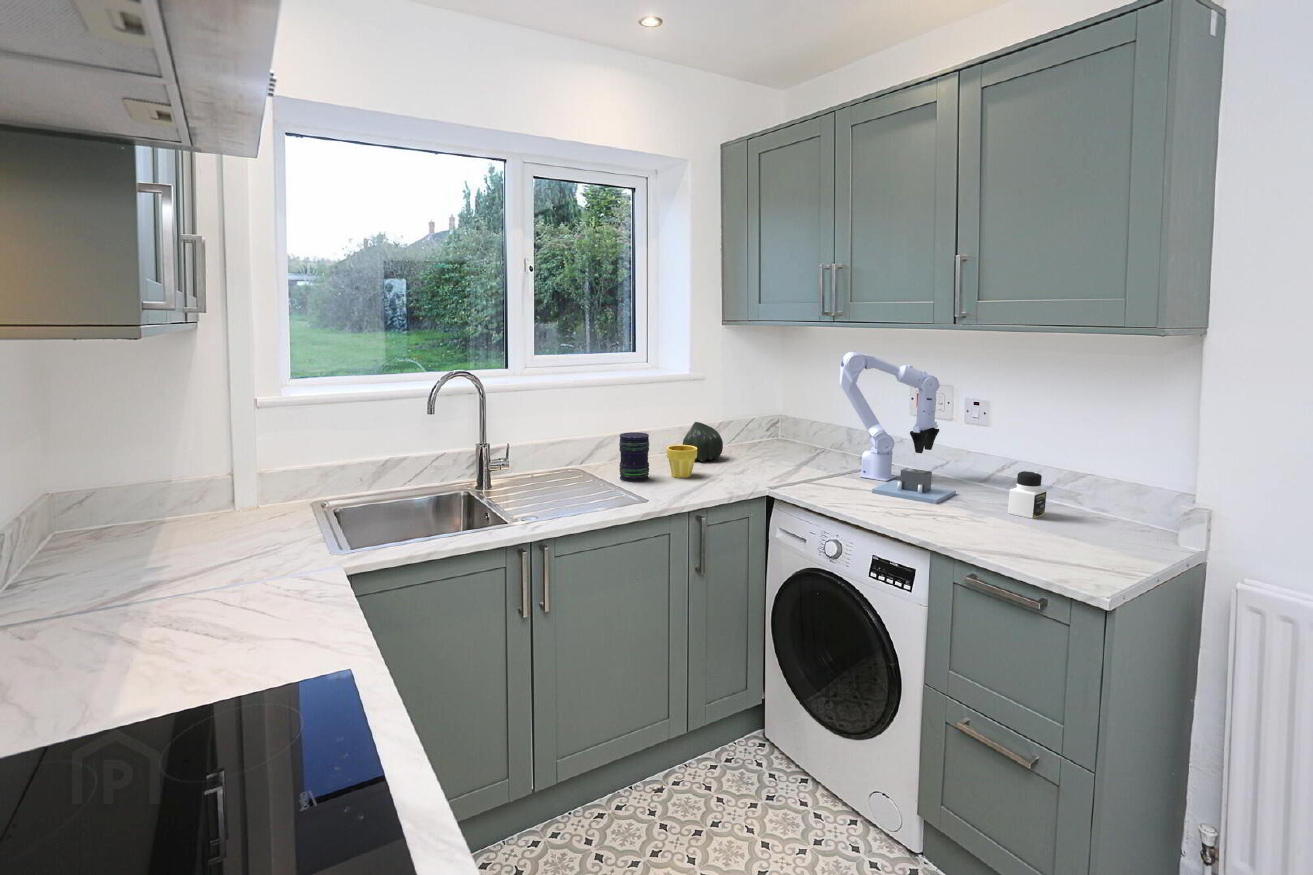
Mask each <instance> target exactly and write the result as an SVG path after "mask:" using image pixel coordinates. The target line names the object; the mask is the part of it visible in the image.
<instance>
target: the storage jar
mask: <svg viewBox="0 0 1313 875" xmlns="http://www.w3.org/2000/svg"><path fill="white" fill-rule="evenodd" d="M649 437H650V435H649V433H646V432H622V433H620V434H619V452H620V462H619V476H620V477H619V480H620V481H622V482H625V483H627V482H628V483H643V482H647V481H648V480H649V478H650V477H649V472H650V462H649V451H650V442H649V441H650V438H649Z"/></svg>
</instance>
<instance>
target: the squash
mask: <svg viewBox="0 0 1313 875" xmlns="http://www.w3.org/2000/svg"><path fill="white" fill-rule="evenodd" d="M682 445H689V446H694V447H696V448H697V458H696V459H695V461H694V462H699V461H700V462H707V460H708V461H709V460H714V461H715V460H716V459H718V458H719V457H720V456H721V455H722V453H723V449H724V443H723V438H722V436H721V435H720V433H719V432H718V431H717V430H716V429H715V428H713V427H712V426H709V425H707V424H705V423H703V422H699V421H694V422H693V424H692V425H691V427H690V429H689V430H688V431H687V433H686V434H685V436H684V438H683V440H682Z"/></svg>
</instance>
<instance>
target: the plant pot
mask: <svg viewBox="0 0 1313 875" xmlns="http://www.w3.org/2000/svg"><path fill="white" fill-rule="evenodd" d="M666 458H667V459H668V462H669V468H670V473H671V474H670V475H671V477H672V478H677V479H678V478H679V479H686V478H690V477H691V476H692V473H693V468H694V464H695V462H696V461H695V459H696V458H697V448H696V447H694V446H689V445H683V444H675V445H669V446H667V447H666Z"/></svg>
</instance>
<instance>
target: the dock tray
mask: <svg viewBox="0 0 1313 875" xmlns="http://www.w3.org/2000/svg"><path fill="white" fill-rule="evenodd" d="M956 492H957V489H951V488H944V487H939V486H932V485H931V491H929V492H927V493H922V485H918V492H914V491H908V490H902V482H901V481H900V480H895V479H893V480H891V481H889V482H885V483H884V484H881V485H879V486H877V487H874V488H872V490H871V493H872V494H875V495H876V494H877V495H881V496H888V497H893V498H899V499H900V498H901V499H905V500H910V501H911V500H912V501H916V502H921V501H923V503H927V502H928V503H927V504H934V505H937V504H940V503H941V502H944V501H945V500H947V499H949V498H950V497H952V496H954V495H956V494H957V493H956ZM948 497H949V498H948Z"/></svg>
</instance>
